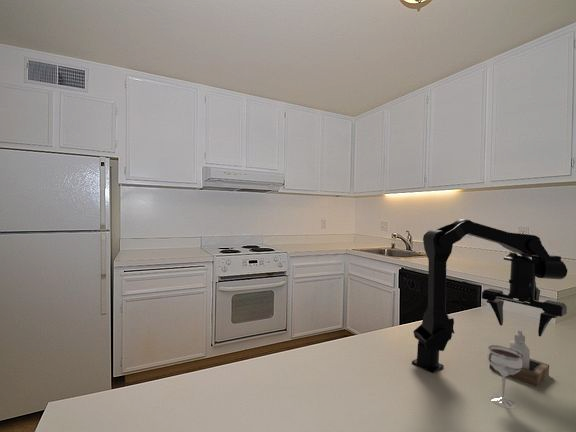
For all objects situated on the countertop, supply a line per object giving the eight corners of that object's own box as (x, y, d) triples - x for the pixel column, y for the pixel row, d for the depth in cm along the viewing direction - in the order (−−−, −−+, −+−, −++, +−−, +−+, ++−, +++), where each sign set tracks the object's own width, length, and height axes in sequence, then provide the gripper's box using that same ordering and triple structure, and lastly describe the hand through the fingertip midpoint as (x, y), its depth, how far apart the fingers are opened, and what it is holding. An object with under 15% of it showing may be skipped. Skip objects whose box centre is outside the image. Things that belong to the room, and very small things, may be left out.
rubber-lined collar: (537, 386, 78) (537, 375, 78) (489, 367, 87) (490, 357, 87) (548, 375, 84) (549, 364, 84) (503, 359, 93) (504, 349, 93)
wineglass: (481, 399, 70) (484, 349, 70) (490, 389, 75) (492, 342, 75) (516, 414, 65) (519, 361, 65) (523, 403, 70) (526, 353, 70)
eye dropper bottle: (509, 372, 84) (511, 331, 84) (508, 365, 89) (509, 325, 89) (529, 378, 82) (531, 335, 82) (526, 369, 87) (528, 329, 87)
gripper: (572, 281, 83) (570, 336, 83) (496, 269, 98) (493, 316, 98) (562, 285, 76) (559, 345, 76) (482, 271, 91) (479, 321, 91)
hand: (519, 330), depth 86 cm, fingers open, 9 cm apart
